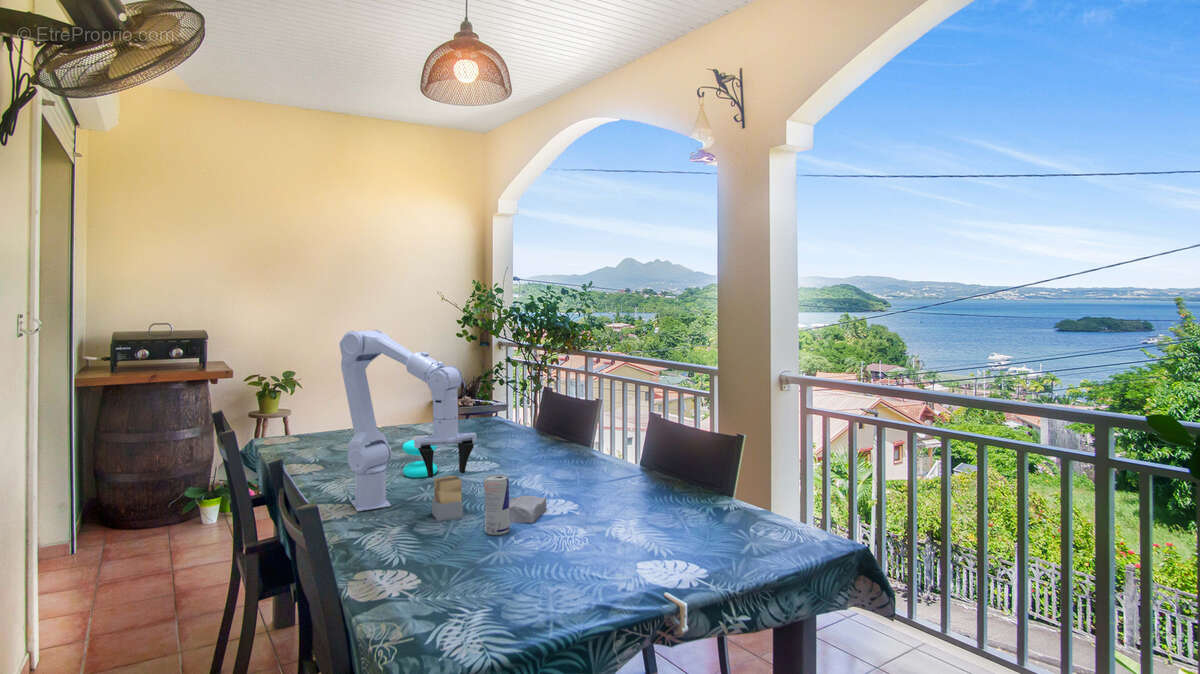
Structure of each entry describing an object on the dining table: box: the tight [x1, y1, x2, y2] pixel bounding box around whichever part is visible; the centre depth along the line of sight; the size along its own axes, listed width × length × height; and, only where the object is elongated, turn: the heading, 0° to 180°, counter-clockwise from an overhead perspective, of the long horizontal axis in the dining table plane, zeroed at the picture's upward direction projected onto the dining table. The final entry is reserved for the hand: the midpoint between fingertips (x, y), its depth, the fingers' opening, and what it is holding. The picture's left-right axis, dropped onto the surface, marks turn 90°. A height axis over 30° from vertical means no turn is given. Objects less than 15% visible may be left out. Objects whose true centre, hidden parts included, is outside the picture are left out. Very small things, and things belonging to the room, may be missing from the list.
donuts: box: [402, 439, 438, 479], centre depth 192 cm, size 10×10×10 cm
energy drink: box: [483, 474, 511, 536], centre depth 141 cm, size 5×5×12 cm
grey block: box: [431, 497, 464, 522], centre depth 152 cm, size 6×6×4 cm
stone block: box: [509, 495, 548, 524], centre depth 152 cm, size 12×5×10 cm
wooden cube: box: [433, 475, 463, 504], centre depth 152 cm, size 5×5×5 cm
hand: (446, 474), depth 152 cm, fingers open, 7 cm apart
